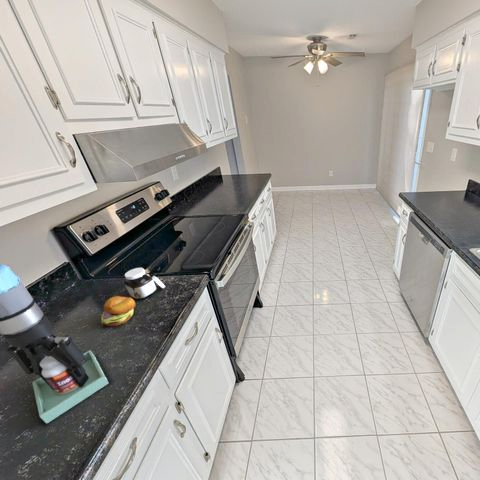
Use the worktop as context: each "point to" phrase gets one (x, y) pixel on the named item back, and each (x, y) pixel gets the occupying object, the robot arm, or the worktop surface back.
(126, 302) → the cheeseburger
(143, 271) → the spread jar
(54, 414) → the tray
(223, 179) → the worktop surface
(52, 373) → the pill bottle
